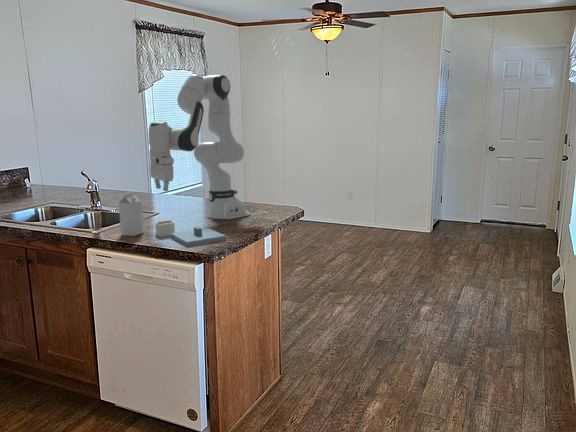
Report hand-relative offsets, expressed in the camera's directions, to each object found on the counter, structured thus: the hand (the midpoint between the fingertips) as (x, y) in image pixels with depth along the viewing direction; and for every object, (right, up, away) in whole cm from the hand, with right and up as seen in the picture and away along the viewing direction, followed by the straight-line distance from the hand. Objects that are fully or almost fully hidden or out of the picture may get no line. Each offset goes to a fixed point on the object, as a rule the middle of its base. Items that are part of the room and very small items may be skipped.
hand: (162, 189), depth 227 cm
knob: (+1, -20, +4) cm, 21 cm away
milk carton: (-15, -20, +6) cm, 26 cm away
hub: (+17, -22, -4) cm, 28 cm away
